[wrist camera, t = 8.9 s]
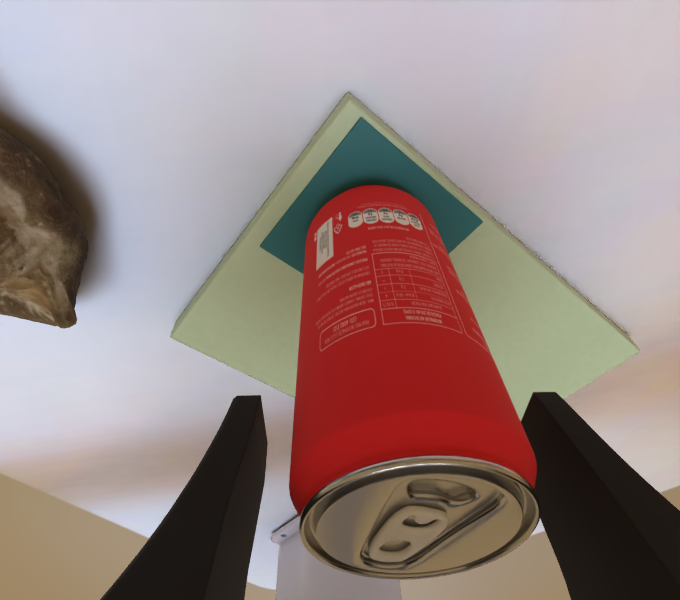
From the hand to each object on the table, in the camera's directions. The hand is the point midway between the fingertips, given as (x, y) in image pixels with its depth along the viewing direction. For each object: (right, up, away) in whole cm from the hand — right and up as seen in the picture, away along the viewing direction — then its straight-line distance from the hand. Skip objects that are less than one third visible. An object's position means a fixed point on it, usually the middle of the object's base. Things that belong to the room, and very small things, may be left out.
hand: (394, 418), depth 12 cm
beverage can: (0, +6, +7) cm, 9 cm away
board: (+2, +2, +11) cm, 12 cm away
